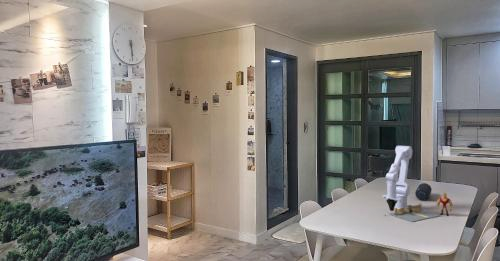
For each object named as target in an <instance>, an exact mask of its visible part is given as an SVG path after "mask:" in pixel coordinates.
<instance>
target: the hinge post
mask: <svg viewBox="0 0 500 261" xmlns="http://www.w3.org/2000/svg"><path fill="white" fill-rule="evenodd" d="M412 206H413V205H412V204H407V207H409V212H410V213H412Z"/></svg>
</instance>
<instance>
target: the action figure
mask: <svg viewBox="0 0 500 261" xmlns="http://www.w3.org/2000/svg"><path fill="white" fill-rule="evenodd" d="M440 204H442V208H441V210H440ZM447 204H449V209H447ZM436 206H437V207H436V209H437V210H438V211H441V213H439V215H443V214H444V213H443V212H444V209H445V212H446V217H447V216H448V217H449V215H450V214H449V212H452V209H453V201H452V200H451V199H450V198H449V197H447V193H446V192H443V193H442V197H439V198H438V199H437V201H436Z"/></svg>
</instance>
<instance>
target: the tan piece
mask: <svg viewBox="0 0 500 261" xmlns="http://www.w3.org/2000/svg"><path fill="white" fill-rule="evenodd" d="M408 212H409V207H408V206H407V207H404V208H398V209H397V208H394V211H393V213H394V215H397V214H402V213H408Z"/></svg>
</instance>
